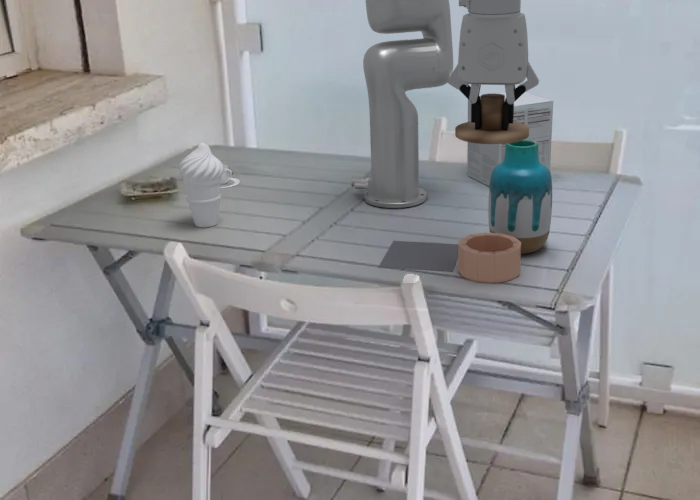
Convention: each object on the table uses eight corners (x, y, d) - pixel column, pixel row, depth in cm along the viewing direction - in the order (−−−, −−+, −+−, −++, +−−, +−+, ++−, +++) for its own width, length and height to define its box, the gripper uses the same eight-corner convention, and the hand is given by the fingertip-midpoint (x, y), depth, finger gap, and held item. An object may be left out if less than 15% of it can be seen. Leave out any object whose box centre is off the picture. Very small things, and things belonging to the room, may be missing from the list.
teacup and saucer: (194, 184, 207) (192, 166, 206) (224, 176, 212) (222, 159, 210) (217, 192, 201) (215, 174, 199) (247, 184, 206) (245, 166, 204)
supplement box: (551, 182, 198) (555, 100, 192) (497, 192, 193) (499, 108, 187) (517, 167, 209) (520, 89, 203) (465, 175, 205) (466, 95, 199)
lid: (450, 142, 141) (450, 103, 139) (460, 125, 151) (461, 87, 149) (526, 145, 138) (527, 104, 136) (531, 126, 148) (532, 89, 146)
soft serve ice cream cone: (192, 234, 176) (183, 151, 170) (178, 221, 183) (169, 141, 177) (234, 226, 179) (227, 144, 174) (219, 214, 186) (212, 135, 181)
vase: (481, 241, 167) (483, 136, 160) (540, 238, 168) (544, 133, 161) (495, 264, 157) (497, 153, 150) (557, 260, 158) (562, 149, 151)
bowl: (454, 284, 150) (454, 252, 148) (463, 261, 159) (463, 231, 157) (517, 288, 148) (518, 256, 146) (522, 264, 156) (523, 234, 154)
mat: (378, 270, 157) (378, 266, 156) (393, 243, 168) (393, 240, 167) (452, 274, 154) (452, 271, 153) (463, 247, 165) (463, 244, 164)
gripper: (434, 8, 136) (434, 132, 143) (551, 7, 132) (545, 135, 139) (442, 2, 143) (442, 120, 150) (553, 1, 139) (548, 123, 146)
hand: (492, 126), depth 144 cm, fingers closed on lid, 3 cm apart
